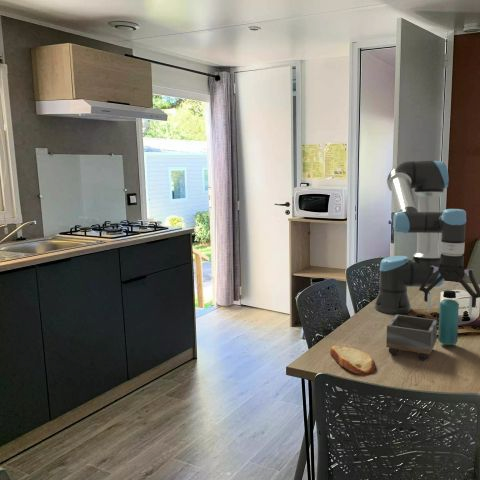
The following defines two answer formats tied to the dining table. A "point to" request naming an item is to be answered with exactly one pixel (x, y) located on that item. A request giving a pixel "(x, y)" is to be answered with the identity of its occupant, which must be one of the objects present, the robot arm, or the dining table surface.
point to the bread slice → (353, 360)
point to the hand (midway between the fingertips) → (449, 313)
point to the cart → (411, 335)
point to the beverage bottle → (448, 319)
